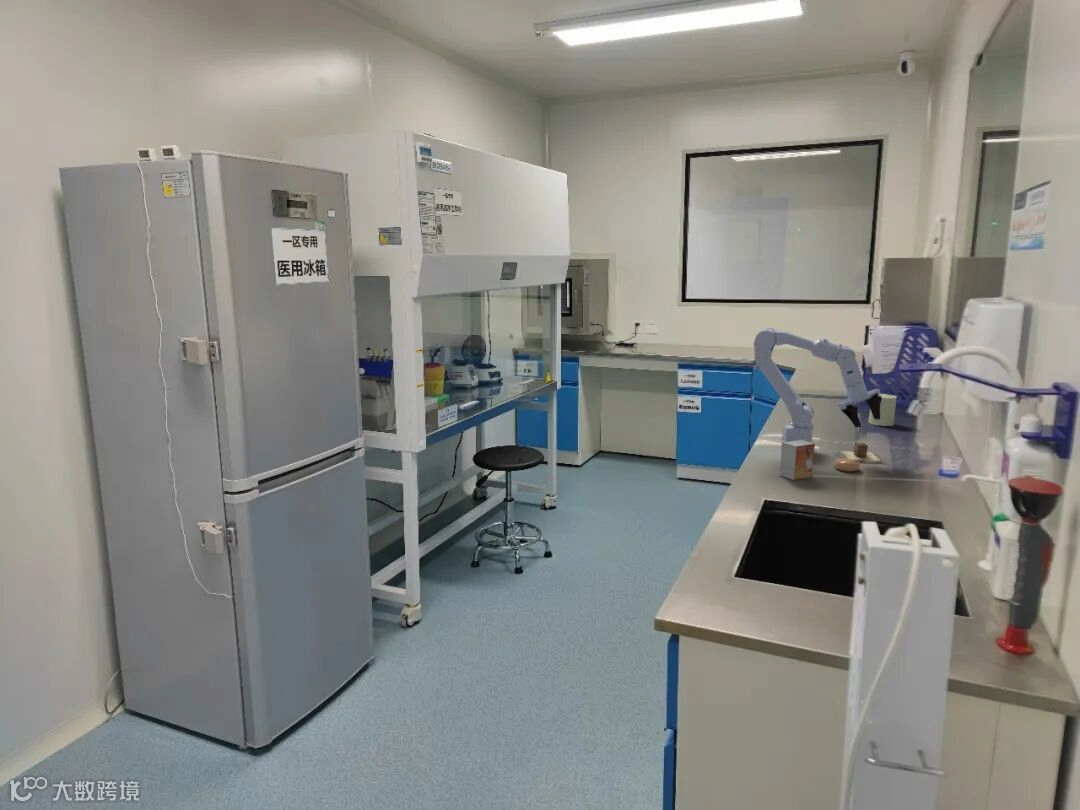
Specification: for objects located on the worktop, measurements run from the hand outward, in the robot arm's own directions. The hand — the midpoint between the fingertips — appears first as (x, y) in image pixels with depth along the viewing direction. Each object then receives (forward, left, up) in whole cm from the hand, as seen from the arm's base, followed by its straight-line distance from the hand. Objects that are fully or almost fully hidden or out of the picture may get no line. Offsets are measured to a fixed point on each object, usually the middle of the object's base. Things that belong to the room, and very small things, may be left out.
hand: (867, 423), depth 224 cm
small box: (-27, -22, -12) cm, 37 cm away
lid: (-2, -1, -12) cm, 12 cm away
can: (+23, +53, -12) cm, 59 cm away
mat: (-2, -2, -12) cm, 12 cm away
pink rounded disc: (-10, -15, -12) cm, 21 cm away
